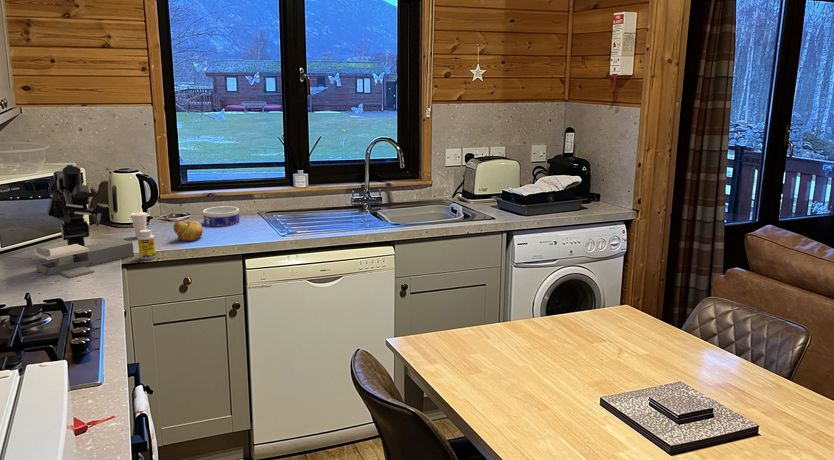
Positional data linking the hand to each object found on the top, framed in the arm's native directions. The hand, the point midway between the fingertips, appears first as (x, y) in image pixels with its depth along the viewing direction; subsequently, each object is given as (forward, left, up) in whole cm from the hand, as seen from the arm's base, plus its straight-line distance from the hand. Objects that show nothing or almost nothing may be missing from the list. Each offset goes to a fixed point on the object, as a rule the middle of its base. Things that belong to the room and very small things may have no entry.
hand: (84, 223), depth 231 cm
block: (-10, -4, -17) cm, 20 cm away
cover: (-10, -4, -11) cm, 15 cm away
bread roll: (-12, +47, -17) cm, 51 cm away
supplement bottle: (+1, +21, -17) cm, 27 cm away
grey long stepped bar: (-10, +3, -16) cm, 19 cm away
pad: (0, -4, -16) cm, 17 cm away
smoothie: (-30, +35, -17) cm, 49 cm away
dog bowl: (-26, +71, -17) cm, 77 cm away
